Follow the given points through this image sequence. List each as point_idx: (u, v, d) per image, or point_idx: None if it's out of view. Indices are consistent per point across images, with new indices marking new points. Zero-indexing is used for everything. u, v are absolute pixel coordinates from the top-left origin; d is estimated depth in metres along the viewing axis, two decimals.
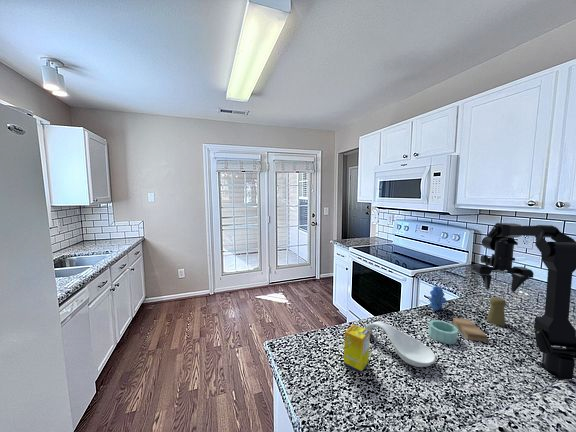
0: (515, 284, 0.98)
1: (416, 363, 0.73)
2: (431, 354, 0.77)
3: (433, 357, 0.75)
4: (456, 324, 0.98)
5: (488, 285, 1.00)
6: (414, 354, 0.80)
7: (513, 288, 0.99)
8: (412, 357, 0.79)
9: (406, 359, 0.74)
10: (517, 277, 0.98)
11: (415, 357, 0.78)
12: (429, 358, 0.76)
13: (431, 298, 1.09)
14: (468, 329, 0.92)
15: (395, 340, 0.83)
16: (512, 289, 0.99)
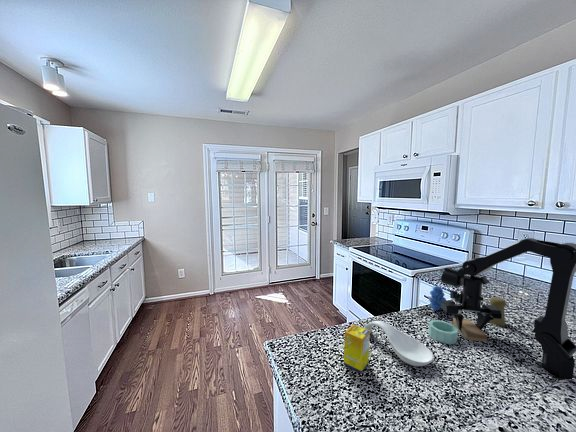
0: (480, 324, 0.93)
1: (413, 362, 0.73)
2: (429, 353, 0.77)
3: (431, 357, 0.76)
4: (456, 324, 0.98)
5: (460, 325, 0.94)
6: (412, 354, 0.80)
7: None
8: (410, 356, 0.79)
9: (403, 357, 0.75)
10: (482, 317, 0.92)
11: (413, 356, 0.79)
12: (427, 358, 0.77)
13: (431, 298, 1.09)
14: (468, 329, 0.92)
15: (394, 339, 0.83)
16: None
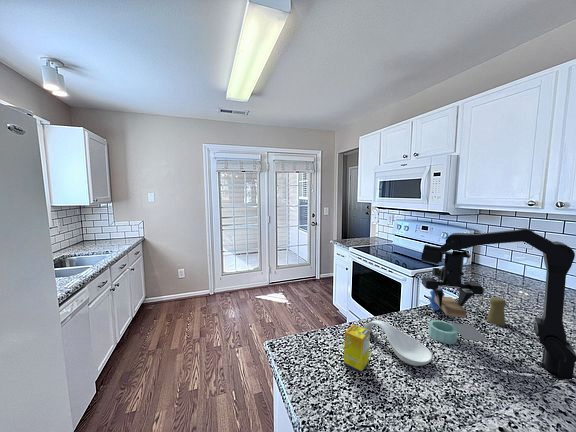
0: (460, 300, 0.89)
1: (411, 361, 0.73)
2: (428, 353, 0.78)
3: (430, 357, 0.76)
4: (437, 301, 0.95)
5: (440, 302, 0.90)
6: (411, 353, 0.80)
7: None
8: (409, 356, 0.79)
9: (402, 357, 0.75)
10: (463, 293, 0.89)
11: (412, 356, 0.79)
12: (426, 357, 0.77)
13: (431, 298, 1.09)
14: (448, 305, 0.89)
15: (393, 339, 0.83)
16: None
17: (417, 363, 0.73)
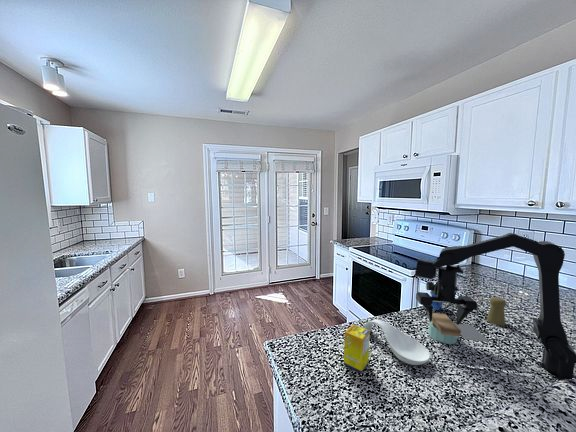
0: (459, 316, 0.88)
1: (409, 360, 0.74)
2: (426, 353, 0.78)
3: (428, 356, 0.76)
4: None
5: (430, 317, 0.90)
6: (410, 353, 0.81)
7: (457, 320, 0.89)
8: (407, 355, 0.79)
9: (399, 356, 0.76)
10: (461, 308, 0.88)
11: (410, 356, 0.79)
12: (424, 357, 0.77)
13: None
14: (442, 324, 0.88)
15: (392, 338, 0.84)
16: (457, 321, 0.90)
17: (414, 362, 0.73)
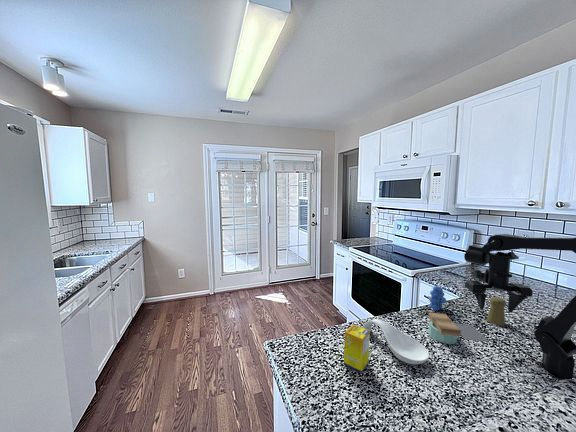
0: (512, 304, 0.86)
1: (408, 360, 0.74)
2: (425, 353, 0.78)
3: (427, 356, 0.76)
4: (431, 319, 0.94)
5: (482, 305, 0.88)
6: (409, 352, 0.81)
7: (510, 308, 0.87)
8: (406, 355, 0.80)
9: (398, 355, 0.76)
10: (514, 296, 0.86)
11: (409, 355, 0.79)
12: (423, 357, 0.77)
13: (431, 298, 1.09)
14: (442, 324, 0.88)
15: (391, 337, 0.84)
16: (509, 309, 0.87)
17: (413, 362, 0.74)
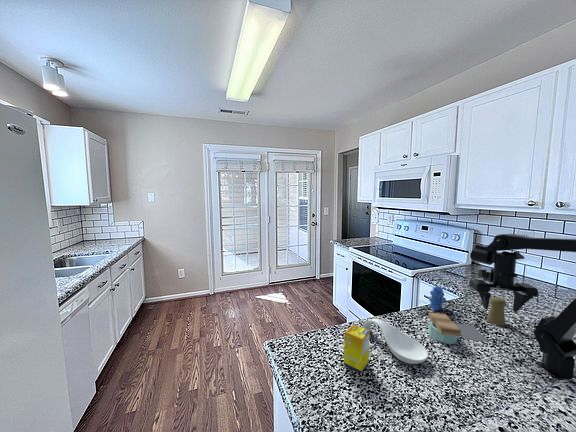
0: (517, 303, 0.86)
1: (406, 359, 0.74)
2: (424, 352, 0.78)
3: (426, 355, 0.76)
4: (431, 319, 0.94)
5: (487, 304, 0.88)
6: (408, 352, 0.81)
7: (515, 308, 0.87)
8: (405, 354, 0.80)
9: (397, 354, 0.76)
10: (520, 296, 0.86)
11: (408, 355, 0.80)
12: (422, 356, 0.77)
13: (431, 298, 1.09)
14: (442, 324, 0.88)
15: (390, 337, 0.84)
16: (514, 309, 0.87)
17: (412, 361, 0.74)
